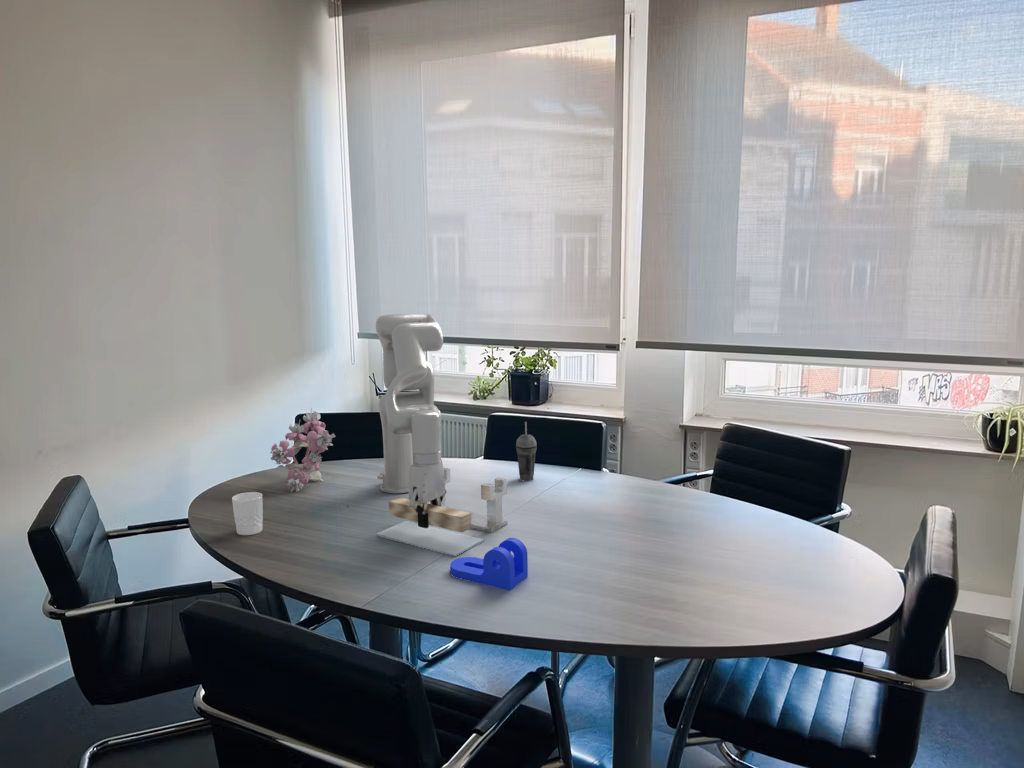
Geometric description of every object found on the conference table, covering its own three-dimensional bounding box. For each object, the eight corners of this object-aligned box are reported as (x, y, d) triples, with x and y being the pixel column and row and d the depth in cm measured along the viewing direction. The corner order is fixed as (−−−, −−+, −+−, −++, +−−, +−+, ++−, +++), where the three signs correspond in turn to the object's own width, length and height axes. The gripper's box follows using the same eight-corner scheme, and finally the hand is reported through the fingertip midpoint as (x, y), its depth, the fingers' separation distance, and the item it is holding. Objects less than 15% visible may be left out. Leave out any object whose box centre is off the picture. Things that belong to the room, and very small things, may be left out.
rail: (389, 515, 198) (388, 501, 197) (399, 511, 201) (398, 497, 200) (462, 532, 184) (461, 517, 183) (471, 527, 187) (471, 512, 187)
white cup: (271, 528, 202) (268, 494, 201) (250, 538, 195) (247, 502, 194) (249, 524, 206) (247, 490, 204) (228, 534, 199) (225, 498, 197)
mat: (376, 535, 196) (376, 533, 196) (406, 522, 206) (406, 520, 206) (455, 556, 181) (455, 554, 181) (483, 541, 191) (483, 539, 191)
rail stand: (425, 517, 210) (424, 473, 207) (443, 509, 216) (442, 467, 214) (490, 532, 197) (490, 486, 195) (507, 523, 203) (506, 479, 201)
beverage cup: (538, 476, 249) (537, 419, 246) (536, 482, 242) (536, 423, 238) (516, 475, 250) (516, 418, 246) (514, 482, 242) (514, 423, 239)
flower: (250, 479, 244) (256, 419, 231) (307, 458, 260) (316, 402, 248) (284, 515, 234) (292, 454, 222) (341, 491, 251) (352, 434, 238)
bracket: (527, 577, 169) (527, 540, 168) (510, 591, 162) (509, 553, 161) (463, 562, 178) (462, 527, 177) (443, 575, 171) (442, 538, 169)
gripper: (436, 448, 199) (438, 513, 202) (394, 462, 185) (397, 531, 188) (457, 452, 195) (459, 517, 197) (416, 467, 181) (419, 537, 184)
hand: (429, 523), depth 193 cm, fingers closed on rail, 4 cm apart
